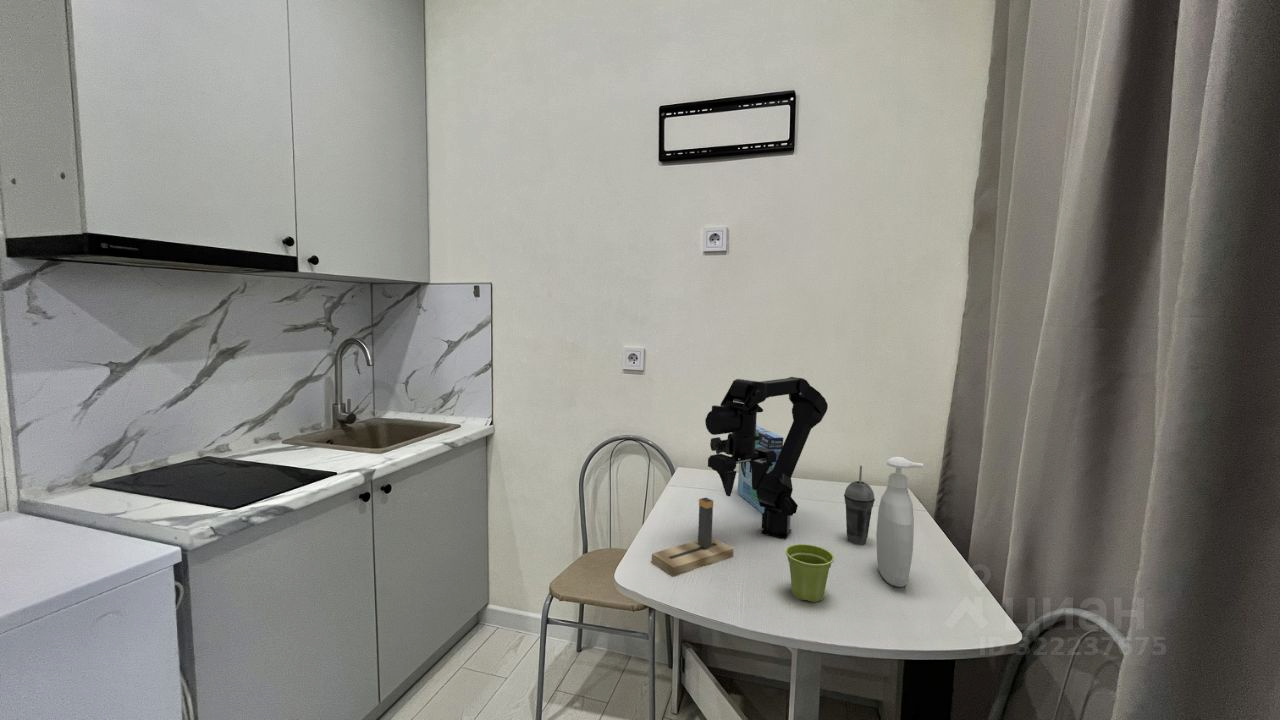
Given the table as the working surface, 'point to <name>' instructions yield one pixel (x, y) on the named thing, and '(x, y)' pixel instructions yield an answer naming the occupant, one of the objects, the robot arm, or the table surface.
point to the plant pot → (809, 570)
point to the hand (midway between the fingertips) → (741, 492)
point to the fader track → (690, 556)
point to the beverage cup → (858, 510)
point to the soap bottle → (896, 526)
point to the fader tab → (705, 522)
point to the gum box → (745, 469)
